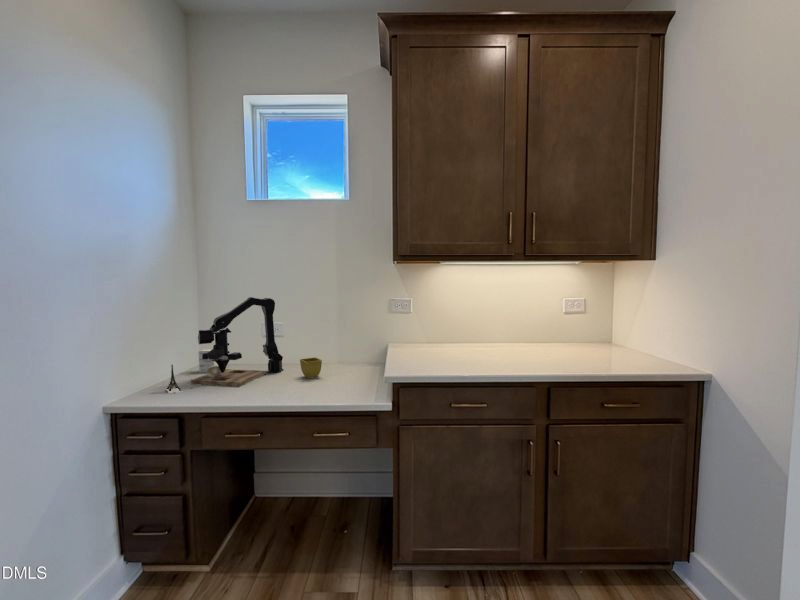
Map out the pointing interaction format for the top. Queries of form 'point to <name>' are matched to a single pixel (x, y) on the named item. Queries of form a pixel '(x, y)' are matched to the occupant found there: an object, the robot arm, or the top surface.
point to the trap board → (229, 378)
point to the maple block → (213, 371)
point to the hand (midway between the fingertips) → (222, 372)
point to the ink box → (205, 362)
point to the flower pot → (311, 367)
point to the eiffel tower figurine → (172, 381)
